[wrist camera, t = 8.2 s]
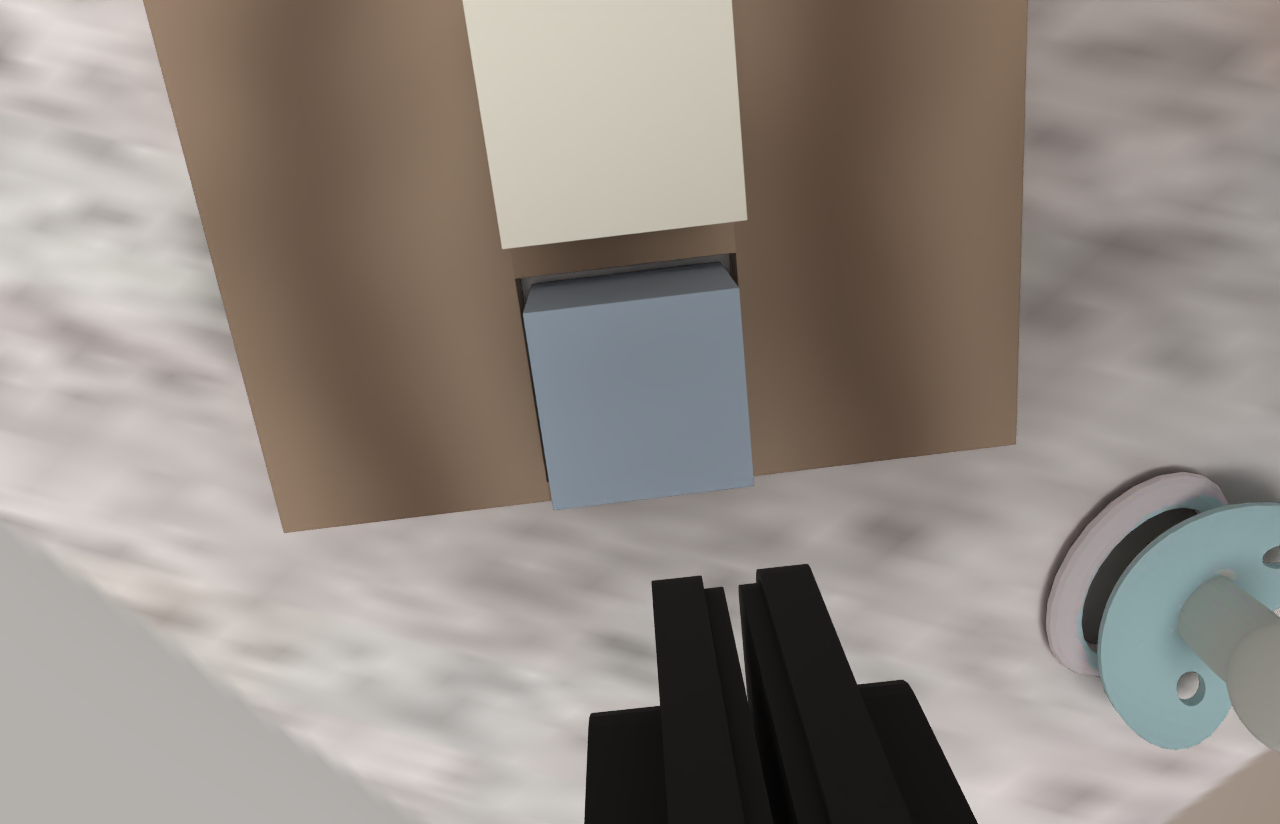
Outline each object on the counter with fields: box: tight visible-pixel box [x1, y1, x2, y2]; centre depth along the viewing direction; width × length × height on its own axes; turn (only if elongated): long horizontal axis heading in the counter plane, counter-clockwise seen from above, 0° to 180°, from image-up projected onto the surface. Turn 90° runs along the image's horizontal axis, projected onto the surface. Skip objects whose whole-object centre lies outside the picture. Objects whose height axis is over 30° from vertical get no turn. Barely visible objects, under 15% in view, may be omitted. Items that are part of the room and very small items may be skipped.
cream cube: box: [462, 0, 747, 249], centre depth 17 cm, size 4×4×3 cm
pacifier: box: [1046, 472, 1280, 753], centre depth 23 cm, size 7×6×6 cm
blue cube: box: [523, 262, 754, 510], centre depth 21 cm, size 4×4×3 cm
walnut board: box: [143, 0, 1028, 533], centre depth 20 cm, size 18×18×1 cm
